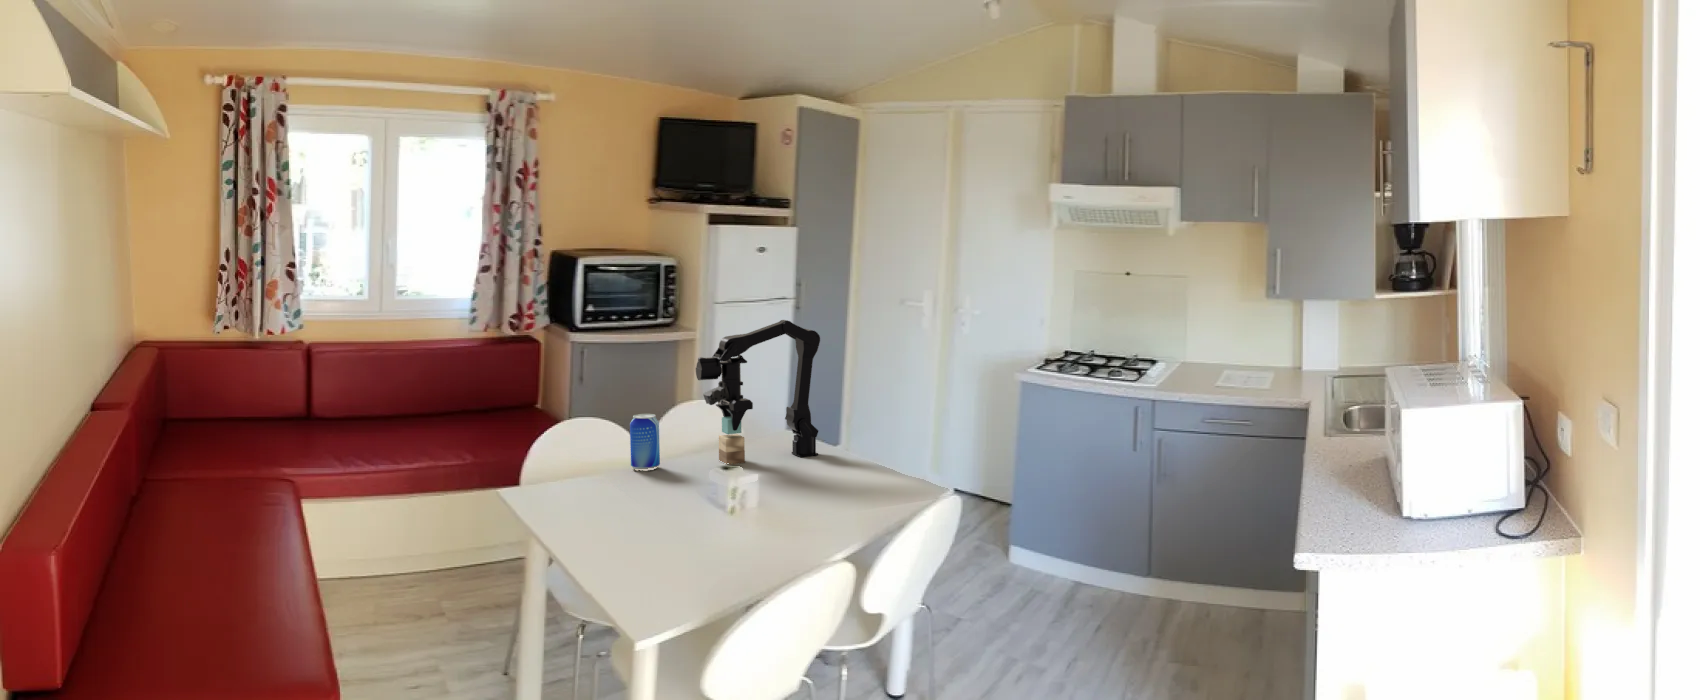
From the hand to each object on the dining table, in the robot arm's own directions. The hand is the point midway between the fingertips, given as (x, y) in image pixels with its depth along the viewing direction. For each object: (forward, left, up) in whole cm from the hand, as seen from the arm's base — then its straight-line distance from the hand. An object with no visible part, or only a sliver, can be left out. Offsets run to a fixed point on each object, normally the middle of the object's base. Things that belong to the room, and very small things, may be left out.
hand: (731, 429), depth 312 cm
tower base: (0, 0, -10) cm, 10 cm away
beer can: (+26, -4, -10) cm, 28 cm away
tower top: (0, 0, -6) cm, 6 cm away
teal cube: (0, 0, -1) cm, 1 cm away
